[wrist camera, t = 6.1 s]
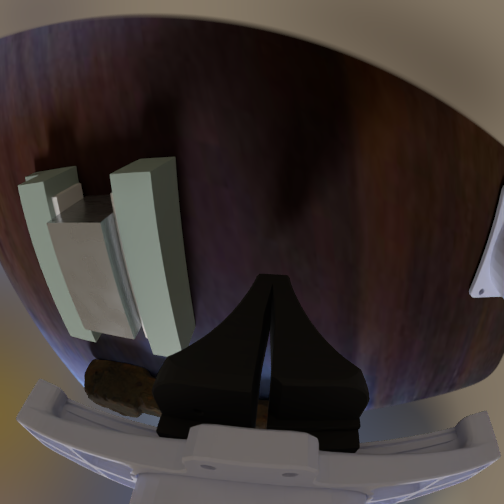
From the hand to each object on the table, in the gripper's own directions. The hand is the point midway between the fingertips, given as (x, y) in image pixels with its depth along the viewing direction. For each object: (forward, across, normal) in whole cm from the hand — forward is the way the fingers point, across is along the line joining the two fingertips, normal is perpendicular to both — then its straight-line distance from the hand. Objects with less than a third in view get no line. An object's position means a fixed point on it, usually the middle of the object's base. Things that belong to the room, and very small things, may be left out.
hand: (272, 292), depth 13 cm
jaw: (+3, +6, 0) cm, 7 cm away
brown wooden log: (+3, +7, +14) cm, 16 cm away
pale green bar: (+3, +13, 0) cm, 13 cm away
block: (+3, +9, 0) cm, 10 cm away
